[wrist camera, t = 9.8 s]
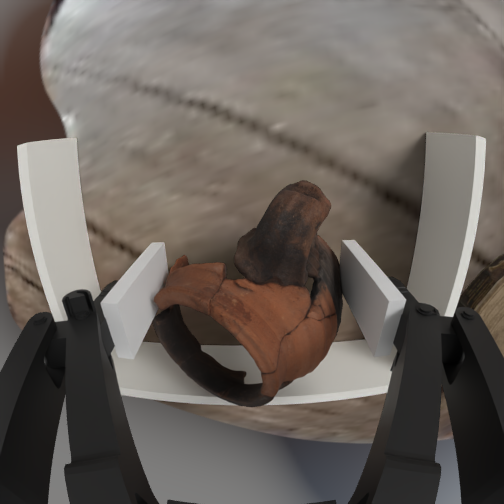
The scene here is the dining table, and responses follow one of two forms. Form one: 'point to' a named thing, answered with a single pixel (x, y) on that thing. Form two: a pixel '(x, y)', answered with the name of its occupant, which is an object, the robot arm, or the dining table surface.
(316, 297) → the pottery mug
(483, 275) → the wood slice
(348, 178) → the dining table surface
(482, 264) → the dining table surface
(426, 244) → the bin
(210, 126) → the dining table surface
